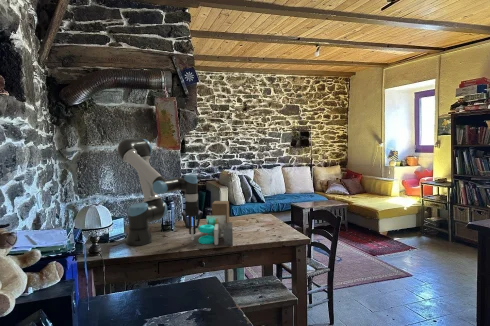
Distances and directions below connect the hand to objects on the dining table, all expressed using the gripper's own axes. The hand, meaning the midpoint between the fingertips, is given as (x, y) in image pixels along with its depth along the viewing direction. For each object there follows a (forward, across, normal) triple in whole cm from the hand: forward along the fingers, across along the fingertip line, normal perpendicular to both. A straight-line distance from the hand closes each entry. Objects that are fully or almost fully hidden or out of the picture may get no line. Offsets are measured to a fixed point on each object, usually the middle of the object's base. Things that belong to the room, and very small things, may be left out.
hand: (192, 239), depth 208 cm
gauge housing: (+2, +16, +2) cm, 16 cm away
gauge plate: (+2, +14, +1) cm, 15 cm away
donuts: (+2, +8, 0) cm, 9 cm away
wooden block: (+2, +16, +24) cm, 29 cm away
